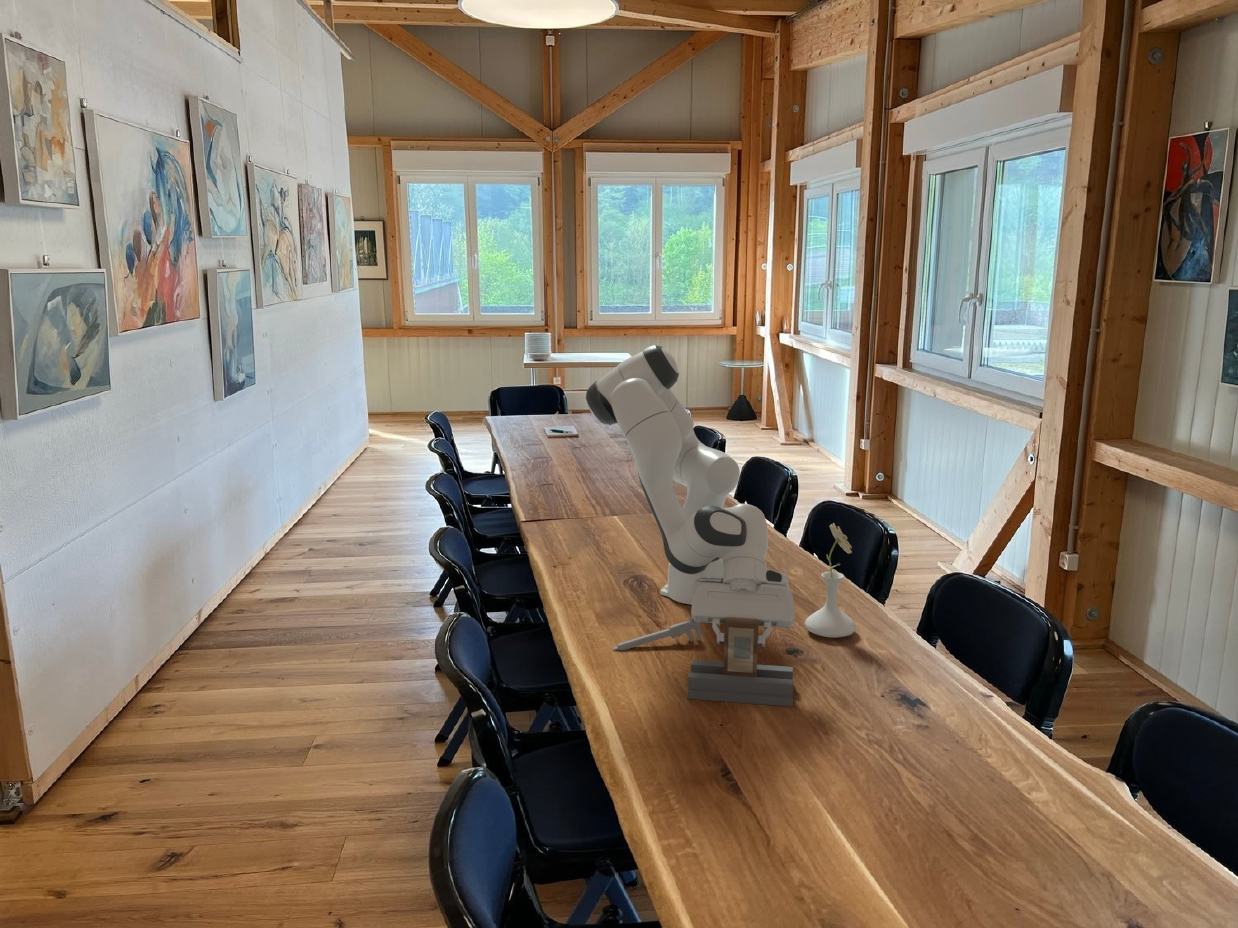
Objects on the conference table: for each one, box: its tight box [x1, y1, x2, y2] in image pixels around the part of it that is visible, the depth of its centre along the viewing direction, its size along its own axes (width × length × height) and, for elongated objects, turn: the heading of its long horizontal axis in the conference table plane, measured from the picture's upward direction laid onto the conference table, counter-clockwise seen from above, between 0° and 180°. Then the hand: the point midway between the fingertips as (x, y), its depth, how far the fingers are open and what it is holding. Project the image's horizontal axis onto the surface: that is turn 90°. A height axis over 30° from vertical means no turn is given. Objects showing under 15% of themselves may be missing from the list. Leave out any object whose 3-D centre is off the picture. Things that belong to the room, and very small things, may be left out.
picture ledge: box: [686, 659, 794, 707], centre depth 177 cm, size 10×20×4 cm, turn 80°
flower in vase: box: [804, 522, 857, 639], centre depth 205 cm, size 13×11×25 cm
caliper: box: [611, 616, 702, 652], centre depth 199 cm, size 20×1×6 cm, turn 106°
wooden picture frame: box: [723, 617, 759, 677], centre depth 175 cm, size 3×6×11 cm, turn 80°
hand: (740, 644), depth 175 cm, fingers closed on wooden picture frame, 6 cm apart
